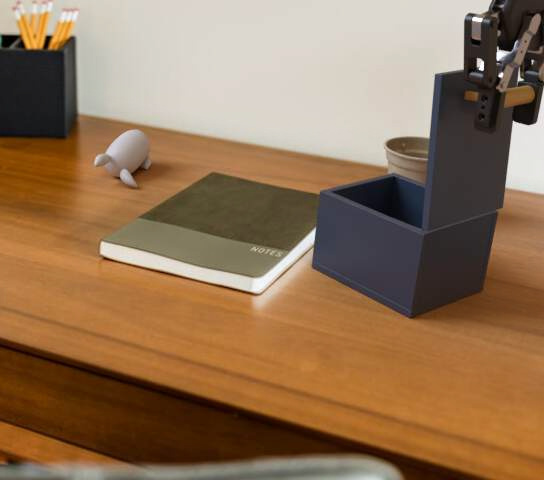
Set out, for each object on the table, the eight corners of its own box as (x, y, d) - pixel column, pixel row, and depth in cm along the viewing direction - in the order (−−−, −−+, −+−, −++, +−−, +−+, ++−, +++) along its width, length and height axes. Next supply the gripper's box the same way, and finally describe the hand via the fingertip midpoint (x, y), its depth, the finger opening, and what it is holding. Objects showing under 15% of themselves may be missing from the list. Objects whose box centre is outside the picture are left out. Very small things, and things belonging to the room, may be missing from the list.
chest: (311, 267, 97) (319, 190, 93) (383, 244, 103) (394, 172, 100) (410, 318, 87) (424, 234, 83) (483, 290, 93) (498, 211, 90)
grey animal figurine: (115, 133, 126) (77, 171, 117) (140, 115, 123) (103, 153, 114) (143, 168, 128) (107, 208, 118) (168, 151, 125) (134, 191, 115)
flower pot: (406, 231, 107) (416, 162, 104) (359, 204, 115) (368, 139, 112) (467, 221, 111) (479, 155, 108) (418, 196, 119) (428, 133, 115)
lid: (434, 73, 79) (481, 80, 75) (512, 61, 85) (559, 67, 82) (421, 229, 84) (464, 243, 80) (496, 206, 90) (539, 217, 86)
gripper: (530, -69, 68) (492, 149, 74) (628, -70, 76) (587, 126, 82) (448, -75, 73) (420, 128, 79) (548, -76, 81) (515, 108, 88)
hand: (505, 126), depth 81 cm, fingers closed on lid, 5 cm apart
